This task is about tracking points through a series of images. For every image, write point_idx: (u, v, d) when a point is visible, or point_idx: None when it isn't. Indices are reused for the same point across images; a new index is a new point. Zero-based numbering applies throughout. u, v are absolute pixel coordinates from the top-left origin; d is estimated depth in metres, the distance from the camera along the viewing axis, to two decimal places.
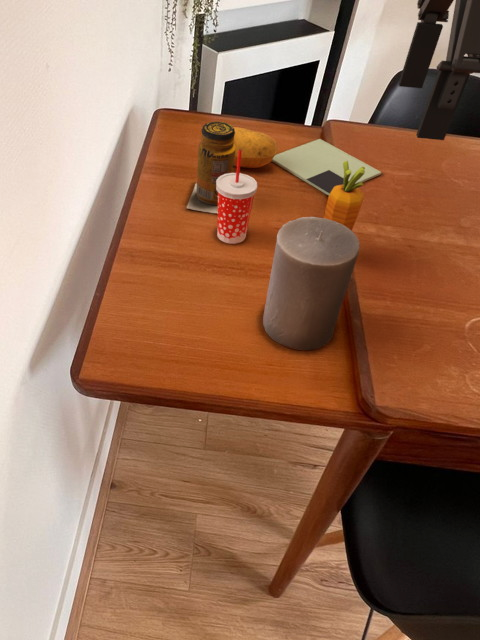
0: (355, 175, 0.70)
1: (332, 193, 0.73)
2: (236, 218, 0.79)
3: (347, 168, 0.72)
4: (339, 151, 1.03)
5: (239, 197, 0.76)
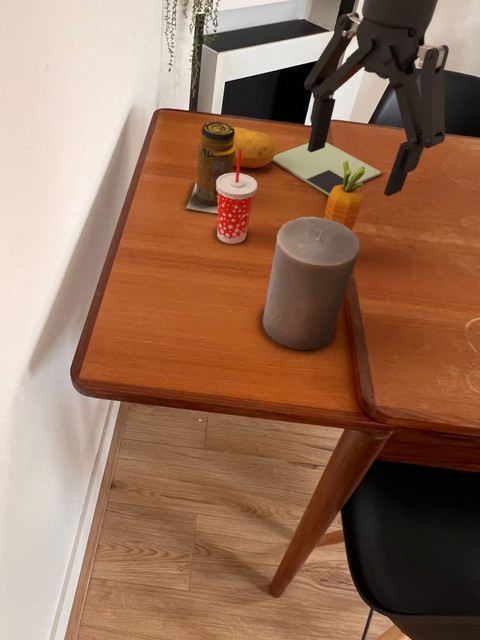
0: (355, 175, 0.70)
1: (332, 193, 0.73)
2: (236, 219, 0.79)
3: (347, 168, 0.72)
4: (339, 151, 1.03)
5: (239, 197, 0.76)
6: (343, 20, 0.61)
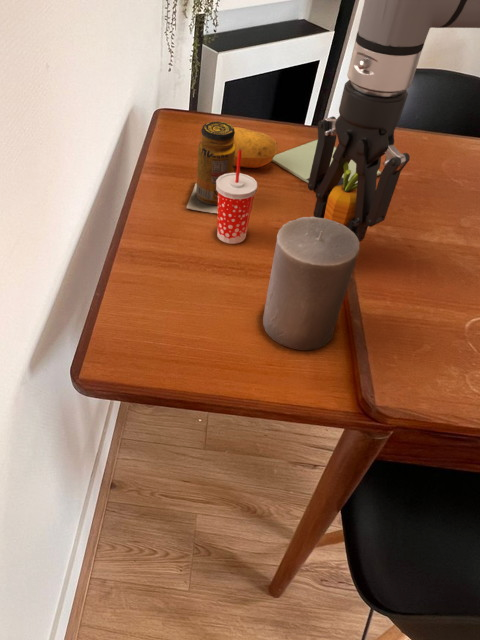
0: (355, 175, 0.70)
1: (332, 193, 0.73)
2: (236, 219, 0.79)
3: (347, 168, 0.72)
4: None
5: (239, 197, 0.76)
6: (321, 124, 0.70)
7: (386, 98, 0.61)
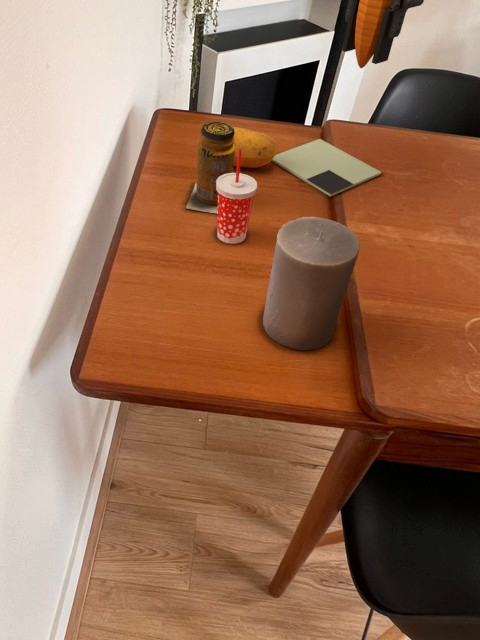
0: None
1: None
2: (236, 218, 0.79)
3: None
4: (339, 151, 1.03)
5: (239, 197, 0.76)
6: None
7: None
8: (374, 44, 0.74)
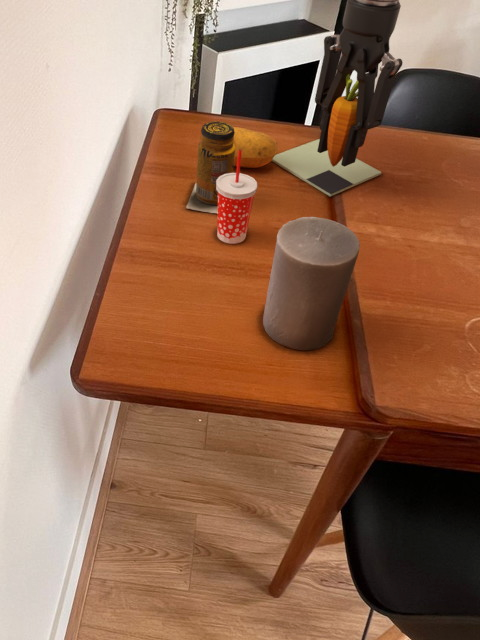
0: (356, 83, 0.82)
1: (336, 102, 0.85)
2: (236, 218, 0.79)
3: (349, 79, 0.84)
4: None
5: (239, 197, 0.76)
6: (327, 39, 0.82)
7: (382, 7, 0.72)
8: (343, 150, 0.89)
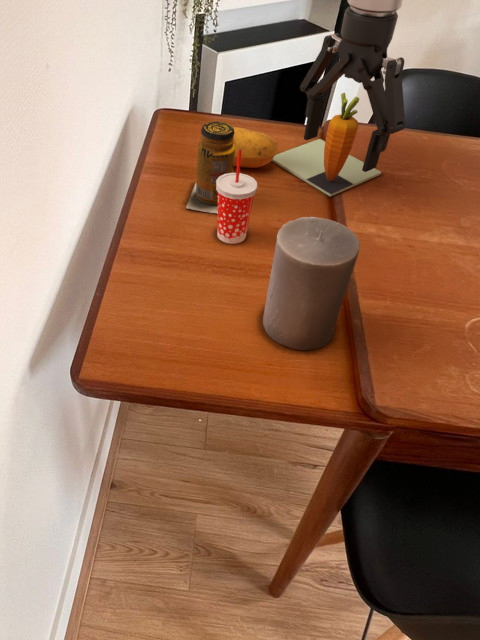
0: (351, 103, 0.84)
1: (332, 120, 0.87)
2: (236, 218, 0.79)
3: (344, 99, 0.86)
4: None
5: (239, 197, 0.76)
6: (327, 39, 0.82)
7: (380, 18, 0.73)
8: (339, 167, 0.92)
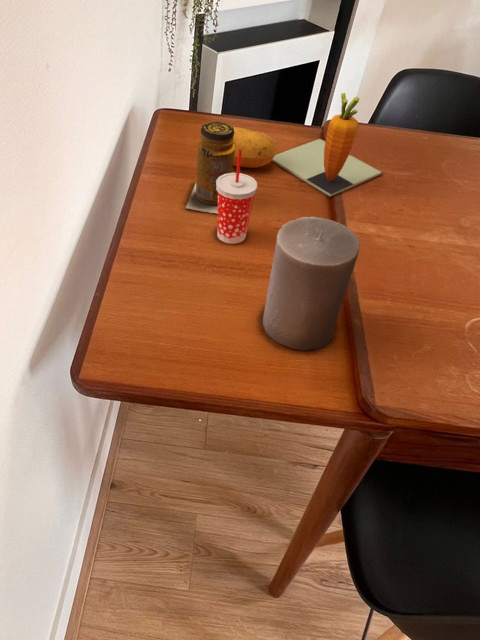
0: (351, 103, 0.84)
1: (332, 120, 0.87)
2: (236, 218, 0.79)
3: (344, 99, 0.86)
4: None
5: (239, 197, 0.76)
6: None
7: None
8: (339, 167, 0.92)
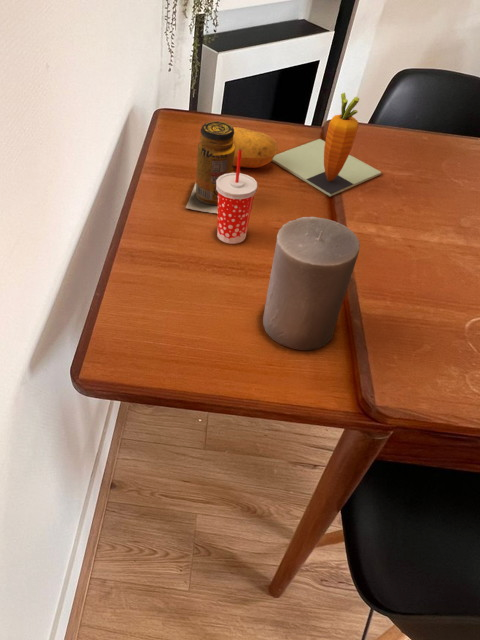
0: (351, 103, 0.84)
1: (332, 120, 0.87)
2: (236, 218, 0.79)
3: (344, 99, 0.86)
4: None
5: (239, 197, 0.76)
6: None
7: None
8: (339, 167, 0.92)
